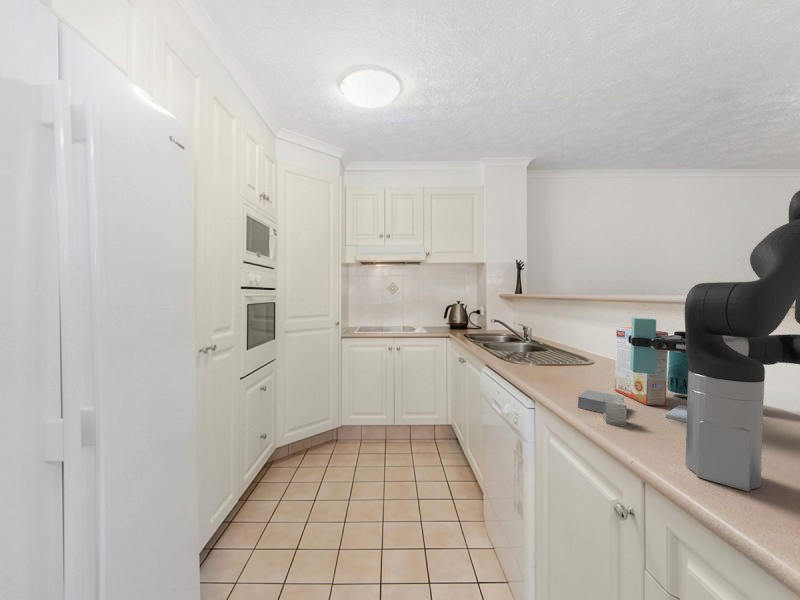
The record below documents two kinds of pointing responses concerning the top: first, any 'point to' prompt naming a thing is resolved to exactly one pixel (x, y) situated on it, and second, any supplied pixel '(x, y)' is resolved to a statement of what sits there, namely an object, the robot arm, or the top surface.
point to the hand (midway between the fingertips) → (630, 340)
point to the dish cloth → (678, 413)
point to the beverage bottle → (678, 370)
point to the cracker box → (639, 384)
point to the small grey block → (614, 411)
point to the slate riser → (595, 400)
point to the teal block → (643, 355)
